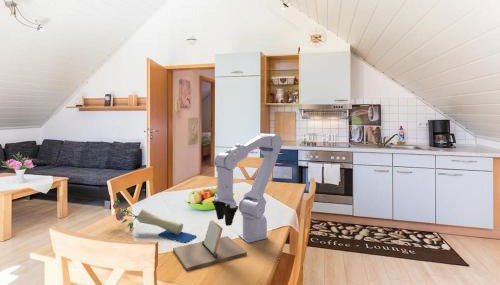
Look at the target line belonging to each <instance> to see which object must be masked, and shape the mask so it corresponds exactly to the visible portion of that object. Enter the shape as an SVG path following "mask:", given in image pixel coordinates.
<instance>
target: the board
mask: <svg viewBox="0 0 500 285" xmlns="http://www.w3.org/2000/svg"><path fill="white" fill-rule="evenodd" d="M172 252H173V253H174V254H175V256H176V258H177V259H178V261H179V262H180V264H182V267H183V268H184V269H185V271H186V272H189V271H191V270H197V269H199V268H203V267H206V266H210V265H214V264H217V263H221V262H225V261H228V260H229V261H230V260H233V259H236V258H240V257H244V256H247V255H248V254H247V253H248V252H247V251H246V250H245V249H243V248H242V246H240V245H239V244H238V243H236V242H235V241H234V240H232V239H231V237H229V236H227V235H226V236H221V237H220V241H219V244H218V248H217V251H216V252H215V253H212V252H211V251H210V250H209V249H208V248H207V247H206V246H205V244H204V240H202V241H200V242H199V241H198V242H195V243H190V244H186V245H182V246H181V245H180V246H177V247H172Z"/></svg>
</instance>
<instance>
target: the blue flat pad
mask: <svg viewBox="0 0 500 285" xmlns="http://www.w3.org/2000/svg"><path fill="white" fill-rule="evenodd" d="M158 237H160V238H162V237H163V239H166V238H167V240H170V239H171V240H170V241H174V240H176V241H175V242H178V241H180V242H179V243H182V242H184V243H183V244H187V243H186V242H188V243H189V242H191V241H193V240H194V238H195V239H196V238H197V235H195V234H191V233H188V232H185V231H184V232H183V231H181V233H179V234H178V235H176V234H174V233H172V232H170V231H167V230H164V231H161V232H160V233H158ZM192 239H193V240H192ZM190 240H191V241H190Z"/></svg>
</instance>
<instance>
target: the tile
mask: <svg viewBox="0 0 500 285" xmlns="http://www.w3.org/2000/svg"><path fill="white" fill-rule="evenodd" d="M223 229H224V228H223V227H222V226H220V225H219V224H218V223H217V222H215V221H214V220H212V219H211V220H209V222H208V227H207V230H206V233H205V237H204V240H203V241H204V244H205V246H206V247H207V248H208V249H209V250H210V251H211V252H212V253H215V252H216V251H217V248H218V244H219V241H220V238H221V237H222V234H223V233H222V232H223Z"/></svg>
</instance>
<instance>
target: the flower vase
mask: <svg viewBox="0 0 500 285" xmlns="http://www.w3.org/2000/svg"><path fill="white" fill-rule="evenodd" d="M116 198H117V199H116V200H114V203H113V205H112V207H113V209H114V210H116V209H118V210H117V211H116V213H115V219H116V220H117V221H119V222H121V221H122V222H121V224H123V223H126V222H127V221H128V219H127V218H125V217H126V216H128V217H133V218H134V219H132V222H128V224H127V228H128V227H129V229H130V231H131V230H132V227H133V226H134V222H135V221H136V220H137V222H139V223H140V224H146V225H152V226H156V227H159V228H162V229H163V230H164V231H166V230H167V231H170V232H172V233H174V234H176V235H178V234H179V233H181V232H183V228H184V224H183V223H180V222H176V221H172V220H168V219H165V218H161V217H159V216H157V215H155V214H153V213H151V212H150V211H147V210H145V209H143V208H142V209H141V210H140V211H139V213H138V215H135V214H134V213H133V212H131V211H130V210H128V206H127V205H125V207H124V206H122V204H121V201H120V200H119V197H116ZM119 204H120V205H119ZM124 218H125V219H124ZM134 220H135V221H134Z"/></svg>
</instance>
